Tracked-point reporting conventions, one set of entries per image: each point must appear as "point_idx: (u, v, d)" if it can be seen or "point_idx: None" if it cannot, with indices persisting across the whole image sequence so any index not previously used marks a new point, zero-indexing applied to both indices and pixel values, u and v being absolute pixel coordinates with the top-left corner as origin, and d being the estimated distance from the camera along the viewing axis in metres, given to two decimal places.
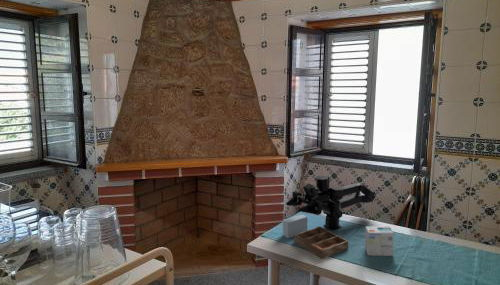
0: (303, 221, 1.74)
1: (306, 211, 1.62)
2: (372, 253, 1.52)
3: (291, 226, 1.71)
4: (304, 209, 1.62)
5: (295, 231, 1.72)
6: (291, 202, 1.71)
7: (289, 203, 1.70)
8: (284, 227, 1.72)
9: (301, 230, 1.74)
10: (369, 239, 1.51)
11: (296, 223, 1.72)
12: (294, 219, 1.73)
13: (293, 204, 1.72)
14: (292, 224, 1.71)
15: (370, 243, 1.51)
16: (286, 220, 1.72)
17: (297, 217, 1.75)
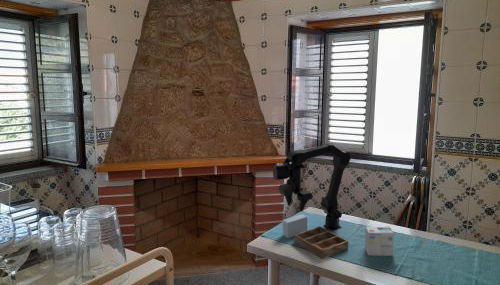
0: (303, 221, 1.74)
1: (304, 205, 1.68)
2: (372, 253, 1.52)
3: (291, 226, 1.71)
4: (302, 206, 1.68)
5: (295, 231, 1.72)
6: (289, 199, 1.76)
7: (289, 202, 1.76)
8: (284, 227, 1.72)
9: (301, 230, 1.74)
10: (369, 239, 1.51)
11: (296, 223, 1.72)
12: (294, 219, 1.73)
13: (291, 196, 1.77)
14: (292, 224, 1.71)
15: (370, 243, 1.51)
16: (286, 220, 1.72)
17: (297, 217, 1.75)
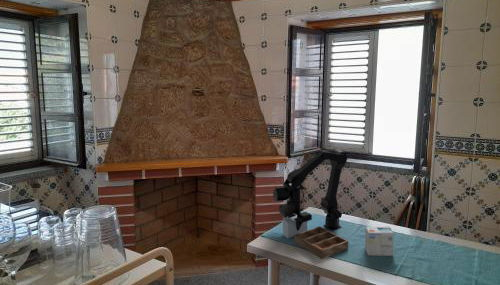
0: None
1: (301, 224, 1.72)
2: (372, 253, 1.52)
3: (291, 225, 1.71)
4: (299, 225, 1.72)
5: (294, 231, 1.72)
6: None
7: None
8: (284, 227, 1.72)
9: (301, 230, 1.74)
10: (369, 239, 1.51)
11: None
12: None
13: None
14: (292, 223, 1.71)
15: (370, 243, 1.51)
16: (286, 220, 1.72)
17: None
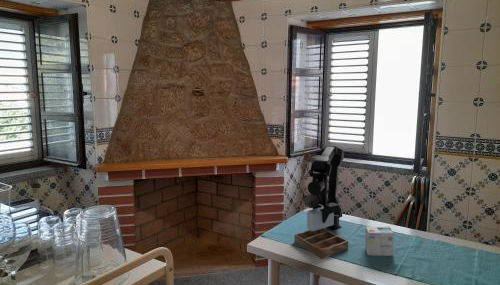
0: None
1: (327, 215, 1.56)
2: (372, 253, 1.52)
3: (316, 217, 1.55)
4: (325, 217, 1.56)
5: (320, 224, 1.57)
6: None
7: None
8: (308, 219, 1.57)
9: (327, 222, 1.59)
10: (369, 239, 1.51)
11: (321, 214, 1.56)
12: (319, 210, 1.57)
13: None
14: (317, 215, 1.55)
15: (370, 243, 1.51)
16: (311, 211, 1.56)
17: None
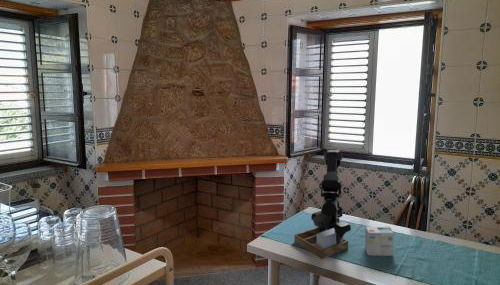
0: None
1: (341, 237, 1.52)
2: (372, 253, 1.52)
3: (326, 240, 1.53)
4: (339, 239, 1.52)
5: None
6: (322, 229, 1.60)
7: None
8: (318, 242, 1.54)
9: None
10: (369, 239, 1.51)
11: (331, 237, 1.54)
12: (329, 233, 1.55)
13: (325, 226, 1.61)
14: (327, 238, 1.53)
15: (370, 243, 1.51)
16: (320, 234, 1.54)
17: (332, 230, 1.57)
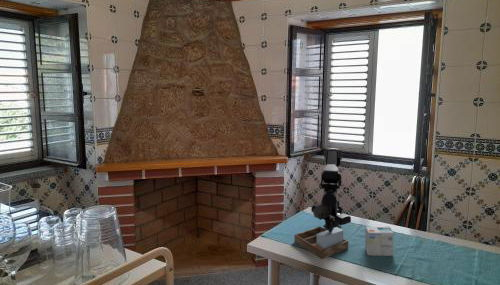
0: (339, 235, 1.57)
1: (334, 225, 1.55)
2: (372, 253, 1.52)
3: (326, 240, 1.53)
4: (332, 227, 1.55)
5: None
6: None
7: None
8: (318, 242, 1.54)
9: None
10: (369, 239, 1.51)
11: (331, 237, 1.54)
12: (329, 233, 1.55)
13: None
14: (327, 238, 1.53)
15: (370, 243, 1.51)
16: (320, 234, 1.54)
17: (332, 230, 1.57)
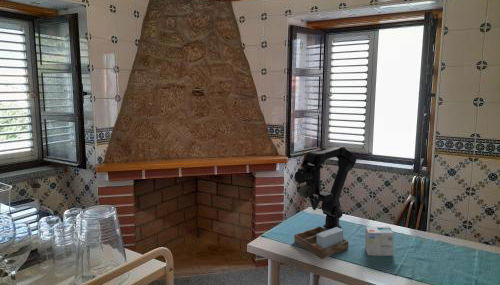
0: (339, 235, 1.57)
1: (317, 203, 1.69)
2: (372, 253, 1.52)
3: (326, 240, 1.53)
4: (316, 205, 1.69)
5: None
6: None
7: None
8: (318, 242, 1.54)
9: None
10: (369, 239, 1.51)
11: (331, 237, 1.54)
12: (329, 233, 1.55)
13: None
14: (327, 238, 1.53)
15: (370, 243, 1.51)
16: (320, 234, 1.54)
17: (332, 230, 1.57)
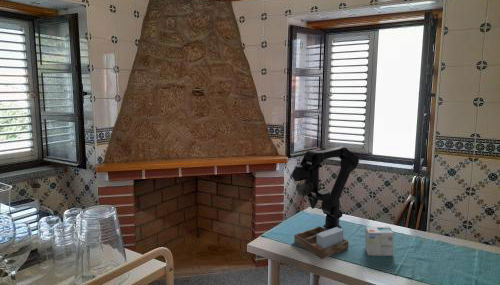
0: (339, 235, 1.57)
1: (316, 202, 1.71)
2: (372, 253, 1.52)
3: (326, 240, 1.53)
4: (314, 203, 1.71)
5: None
6: None
7: None
8: (318, 242, 1.54)
9: None
10: (369, 239, 1.51)
11: (331, 237, 1.54)
12: (329, 233, 1.55)
13: None
14: (327, 238, 1.53)
15: (370, 243, 1.51)
16: (320, 234, 1.54)
17: (332, 230, 1.57)
